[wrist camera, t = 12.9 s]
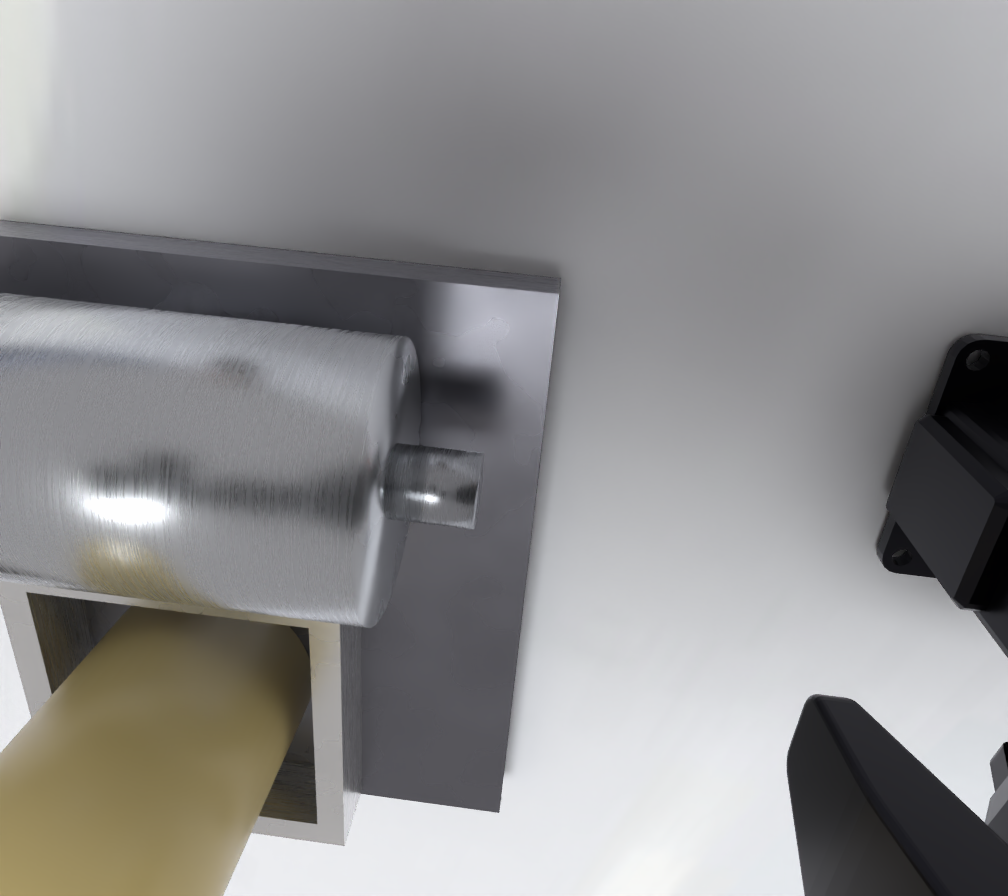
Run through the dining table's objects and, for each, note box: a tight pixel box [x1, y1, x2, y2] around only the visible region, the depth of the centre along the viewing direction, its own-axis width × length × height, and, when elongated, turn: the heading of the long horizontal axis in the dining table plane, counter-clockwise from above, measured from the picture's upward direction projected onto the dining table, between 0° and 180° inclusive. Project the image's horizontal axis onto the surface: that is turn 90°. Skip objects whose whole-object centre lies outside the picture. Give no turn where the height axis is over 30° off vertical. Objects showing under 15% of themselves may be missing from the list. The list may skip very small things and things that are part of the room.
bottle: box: [0, 606, 312, 896], centre depth 16 cm, size 6×6×14 cm
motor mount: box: [0, 220, 561, 846], centre depth 19 cm, size 14×17×8 cm
